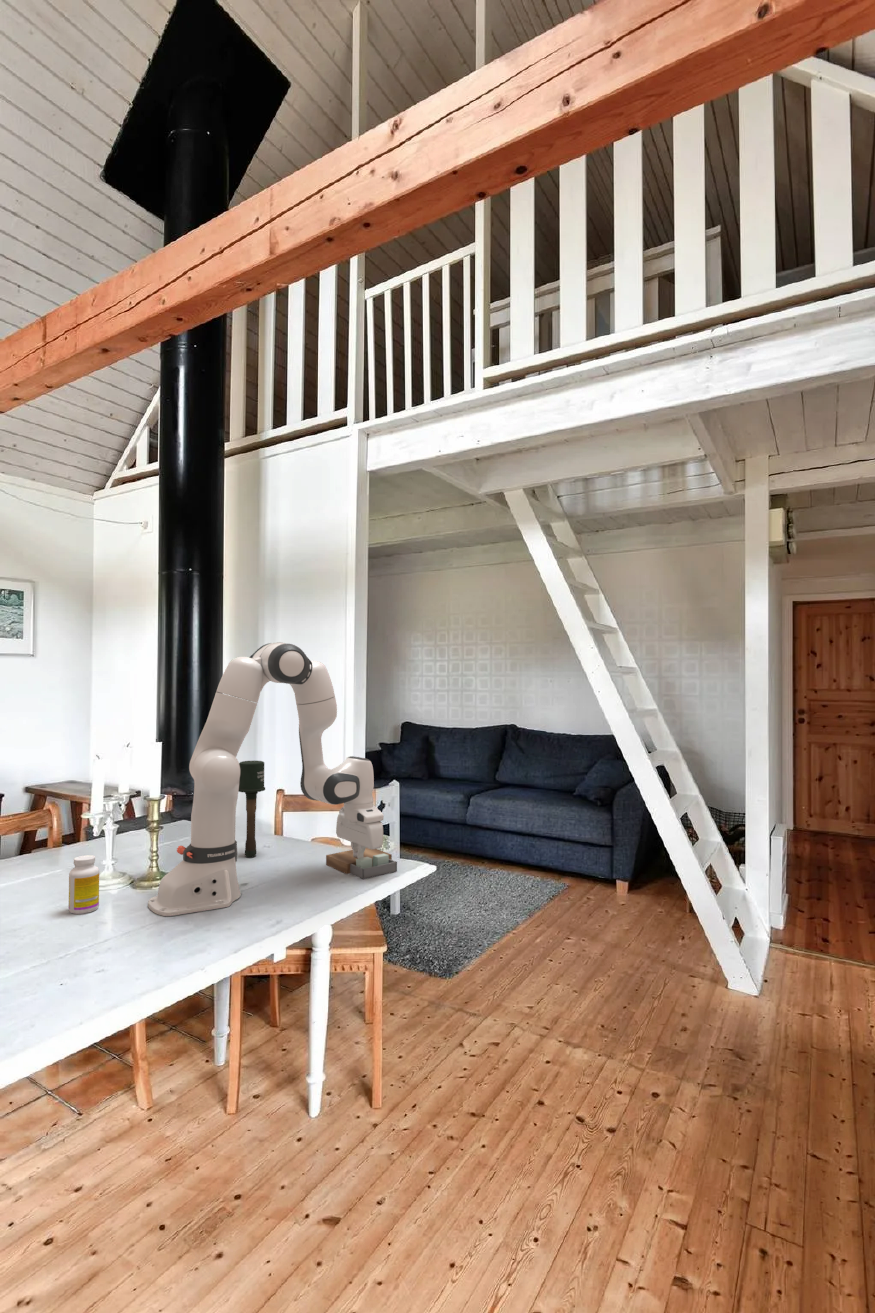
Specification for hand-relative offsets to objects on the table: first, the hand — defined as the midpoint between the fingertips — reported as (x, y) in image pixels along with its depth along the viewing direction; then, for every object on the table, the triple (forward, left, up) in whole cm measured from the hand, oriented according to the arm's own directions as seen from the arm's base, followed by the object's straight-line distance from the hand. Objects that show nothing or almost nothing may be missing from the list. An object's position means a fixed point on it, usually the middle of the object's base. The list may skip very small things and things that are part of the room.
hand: (358, 858), depth 197 cm
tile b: (+6, -2, -2) cm, 7 cm away
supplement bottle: (-70, +16, -4) cm, 72 cm away
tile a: (0, -2, -2) cm, 2 cm away
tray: (+3, -4, -4) cm, 6 cm away
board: (+4, +6, -4) cm, 8 cm away
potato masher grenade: (-18, +35, -4) cm, 39 cm away
